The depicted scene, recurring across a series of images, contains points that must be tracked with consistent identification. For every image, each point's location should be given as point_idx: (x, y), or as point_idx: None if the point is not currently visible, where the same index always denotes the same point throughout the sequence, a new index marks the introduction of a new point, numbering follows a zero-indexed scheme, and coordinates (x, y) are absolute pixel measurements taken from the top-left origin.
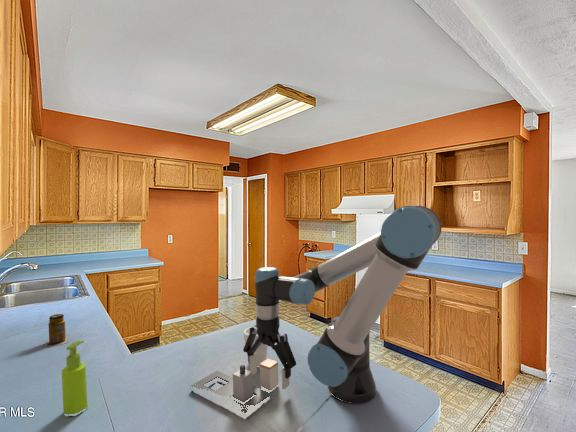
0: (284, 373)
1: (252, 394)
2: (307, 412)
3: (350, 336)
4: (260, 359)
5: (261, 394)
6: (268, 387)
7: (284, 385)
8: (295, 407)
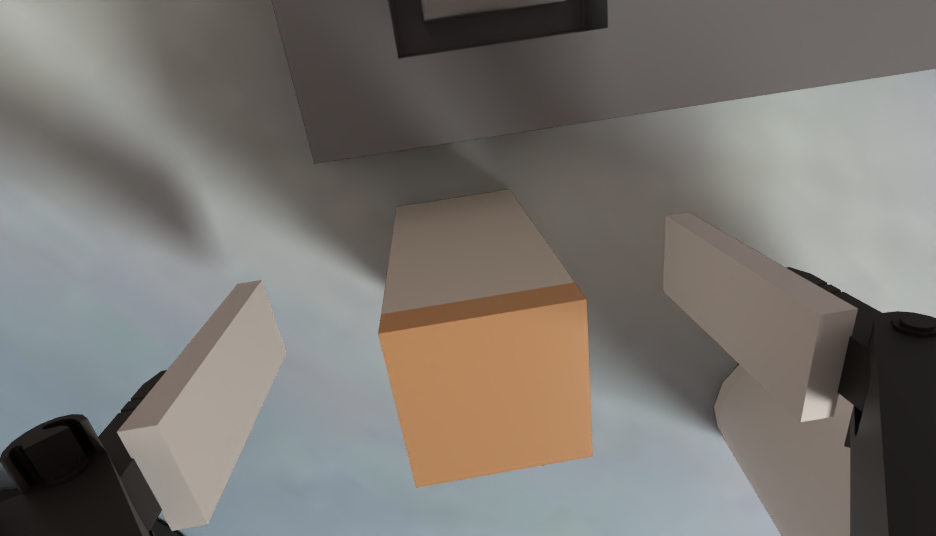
0: (163, 390)
1: (422, 5)
2: (2, 259)
3: None
4: (769, 433)
5: (362, 88)
6: (415, 223)
7: (223, 305)
8: (119, 238)
